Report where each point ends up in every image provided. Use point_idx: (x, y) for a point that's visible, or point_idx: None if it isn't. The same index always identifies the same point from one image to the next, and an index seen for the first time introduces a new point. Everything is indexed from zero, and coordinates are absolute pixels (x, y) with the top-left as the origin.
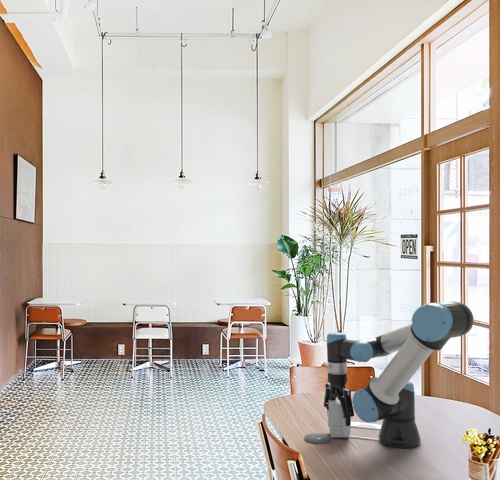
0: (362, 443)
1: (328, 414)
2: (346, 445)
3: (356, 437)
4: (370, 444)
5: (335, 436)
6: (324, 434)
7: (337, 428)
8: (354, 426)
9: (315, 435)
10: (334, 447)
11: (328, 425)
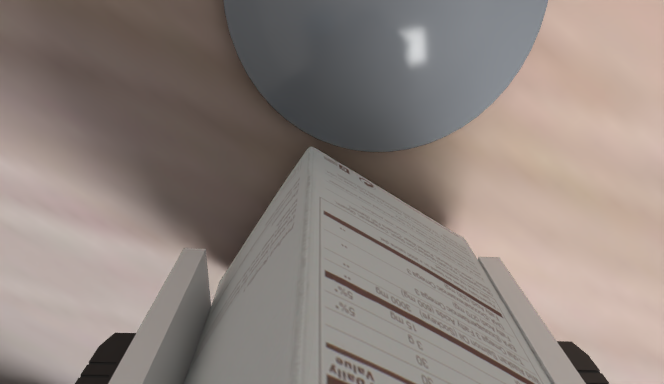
0: (88, 297)
1: (556, 370)
2: (82, 157)
3: None
4: (47, 330)
5: (282, 185)
6: (424, 140)
7: (259, 248)
8: None
9: (461, 28)
10: (61, 7)
11: (498, 267)
